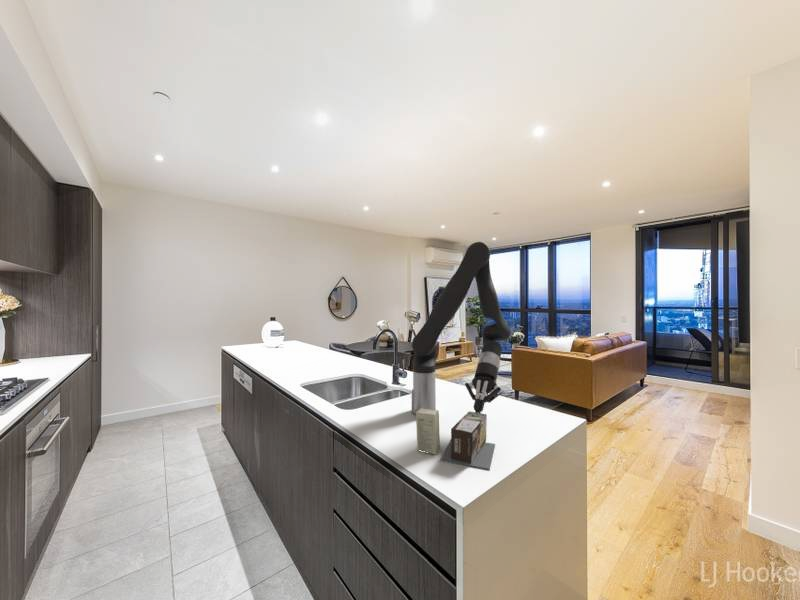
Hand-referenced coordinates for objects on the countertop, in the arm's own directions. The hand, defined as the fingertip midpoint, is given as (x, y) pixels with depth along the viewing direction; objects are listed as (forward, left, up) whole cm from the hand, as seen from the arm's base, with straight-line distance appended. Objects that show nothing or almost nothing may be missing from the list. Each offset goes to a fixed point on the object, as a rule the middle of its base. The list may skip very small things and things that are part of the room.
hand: (477, 411), depth 104 cm
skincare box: (-13, -12, -10) cm, 20 cm away
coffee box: (0, +1, -5) cm, 5 cm away
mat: (-1, -9, -10) cm, 13 cm away
